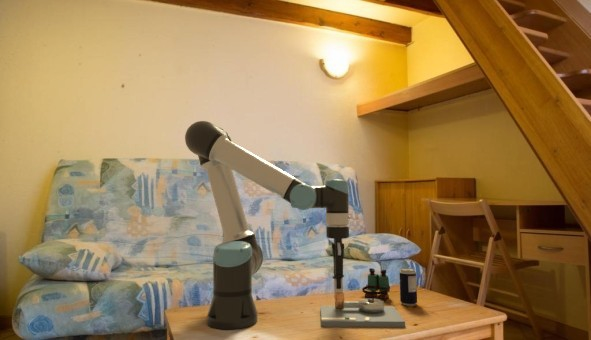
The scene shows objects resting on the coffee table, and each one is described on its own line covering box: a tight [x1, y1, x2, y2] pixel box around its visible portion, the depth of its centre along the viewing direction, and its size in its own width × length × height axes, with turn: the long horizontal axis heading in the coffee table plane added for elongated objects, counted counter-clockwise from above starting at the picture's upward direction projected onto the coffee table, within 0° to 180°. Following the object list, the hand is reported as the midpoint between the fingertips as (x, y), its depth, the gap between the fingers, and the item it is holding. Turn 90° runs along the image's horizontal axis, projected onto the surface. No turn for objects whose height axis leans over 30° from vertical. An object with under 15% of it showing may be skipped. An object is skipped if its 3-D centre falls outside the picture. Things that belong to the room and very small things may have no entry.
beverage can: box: [399, 267, 418, 307], centre depth 134 cm, size 6×6×12 cm
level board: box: [319, 305, 406, 328], centre depth 119 cm, size 24×16×2 cm, turn 88°
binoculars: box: [361, 267, 391, 302], centre depth 142 cm, size 9×11×10 cm
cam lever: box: [334, 292, 385, 313], centre depth 122 cm, size 16×8×5 cm, turn 88°
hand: (338, 297), depth 126 cm, fingers closed
